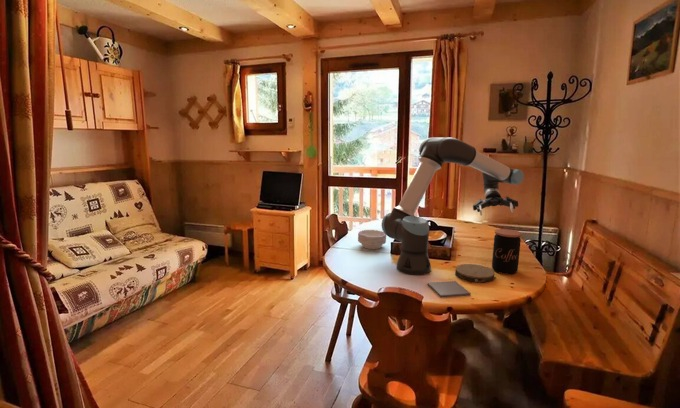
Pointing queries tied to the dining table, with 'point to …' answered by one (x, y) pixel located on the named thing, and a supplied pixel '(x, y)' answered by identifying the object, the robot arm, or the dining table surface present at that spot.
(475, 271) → the grey round disc
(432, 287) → the slate coaster
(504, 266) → the coffee jar
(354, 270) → the dining table surface
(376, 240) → the paper bowls
